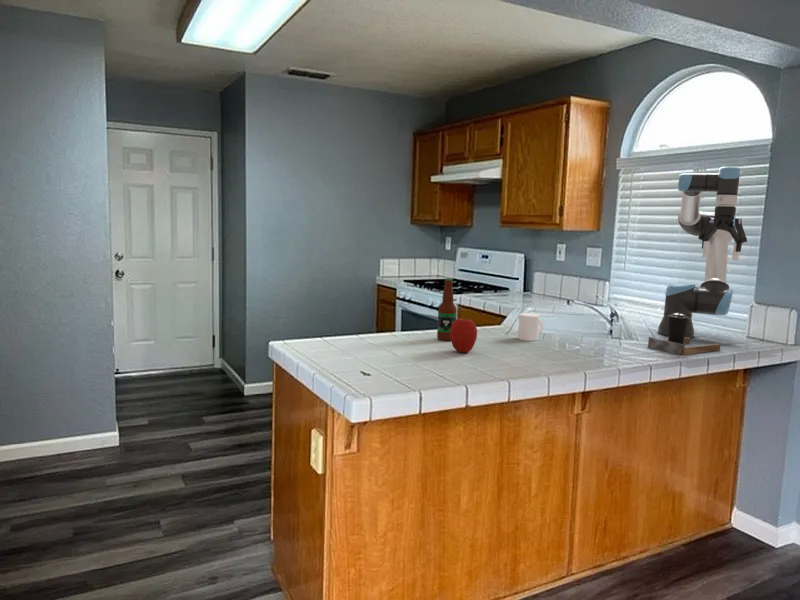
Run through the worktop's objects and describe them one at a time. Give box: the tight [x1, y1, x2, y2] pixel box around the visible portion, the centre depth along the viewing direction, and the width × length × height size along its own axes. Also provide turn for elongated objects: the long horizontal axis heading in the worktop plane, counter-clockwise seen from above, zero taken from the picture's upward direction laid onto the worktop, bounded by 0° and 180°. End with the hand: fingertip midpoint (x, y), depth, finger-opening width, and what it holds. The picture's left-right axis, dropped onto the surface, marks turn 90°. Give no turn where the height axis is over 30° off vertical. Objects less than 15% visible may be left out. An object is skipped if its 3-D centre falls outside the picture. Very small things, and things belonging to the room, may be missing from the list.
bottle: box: [436, 277, 457, 342], centre depth 241 cm, size 7×7×25 cm
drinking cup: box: [668, 300, 689, 344], centre depth 237 cm, size 8×8×20 cm
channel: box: [647, 336, 721, 356], centre depth 241 cm, size 15×24×4 cm, turn 118°
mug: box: [517, 312, 544, 342], centre depth 250 cm, size 8×10×12 cm
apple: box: [450, 315, 478, 354], centre depth 220 cm, size 10×10×14 cm
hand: (719, 258), depth 244 cm, fingers open, 13 cm apart
